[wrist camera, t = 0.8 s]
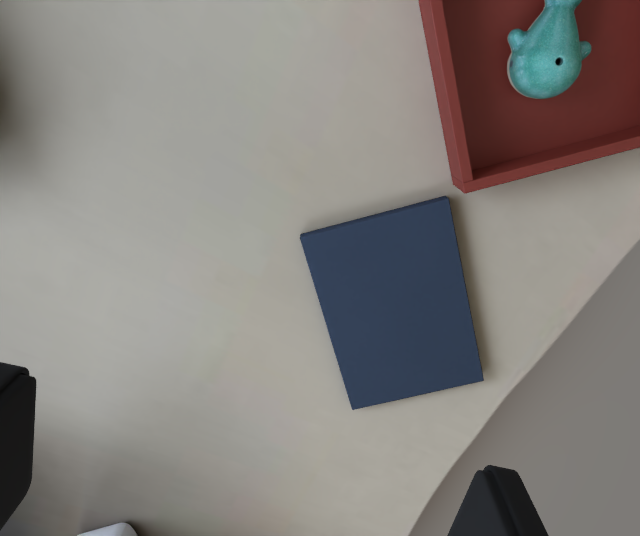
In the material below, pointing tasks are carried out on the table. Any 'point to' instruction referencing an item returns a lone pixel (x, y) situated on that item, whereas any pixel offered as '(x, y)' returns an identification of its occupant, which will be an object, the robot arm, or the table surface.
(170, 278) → the table surface
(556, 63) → the whale figurine
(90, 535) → the radio
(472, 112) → the bin
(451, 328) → the play mat
